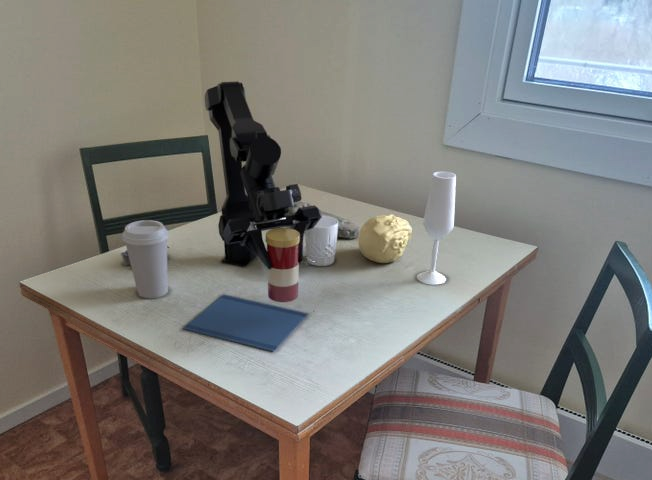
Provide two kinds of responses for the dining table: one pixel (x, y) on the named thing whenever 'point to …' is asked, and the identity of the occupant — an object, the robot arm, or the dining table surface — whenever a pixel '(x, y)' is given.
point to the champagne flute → (439, 219)
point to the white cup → (322, 241)
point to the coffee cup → (148, 256)
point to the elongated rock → (344, 226)
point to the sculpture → (384, 238)
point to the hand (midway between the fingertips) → (285, 265)
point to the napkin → (246, 322)
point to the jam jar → (283, 264)
